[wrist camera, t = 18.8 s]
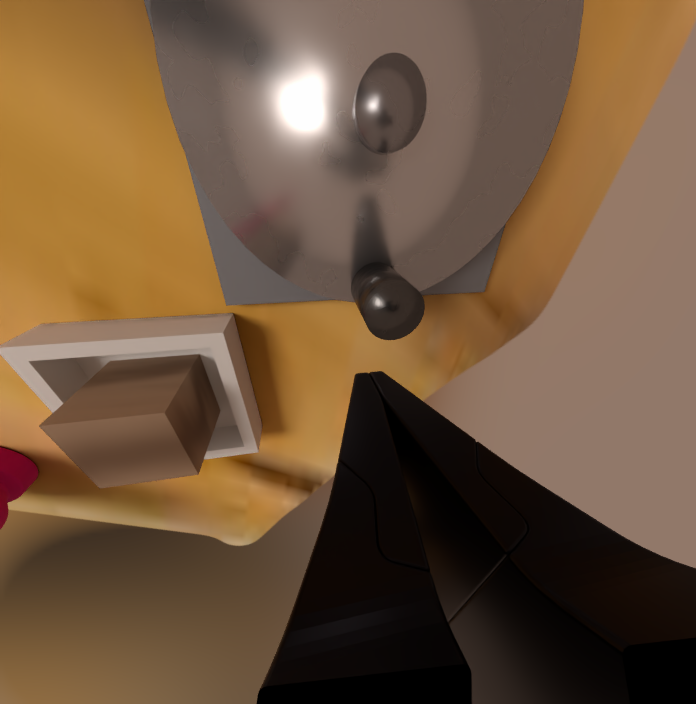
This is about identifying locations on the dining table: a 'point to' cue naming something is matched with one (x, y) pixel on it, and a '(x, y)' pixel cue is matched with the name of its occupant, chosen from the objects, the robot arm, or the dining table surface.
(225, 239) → the crank board
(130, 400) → the block
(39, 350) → the tray
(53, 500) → the dining table surface
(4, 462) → the pepper mill
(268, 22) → the crank
